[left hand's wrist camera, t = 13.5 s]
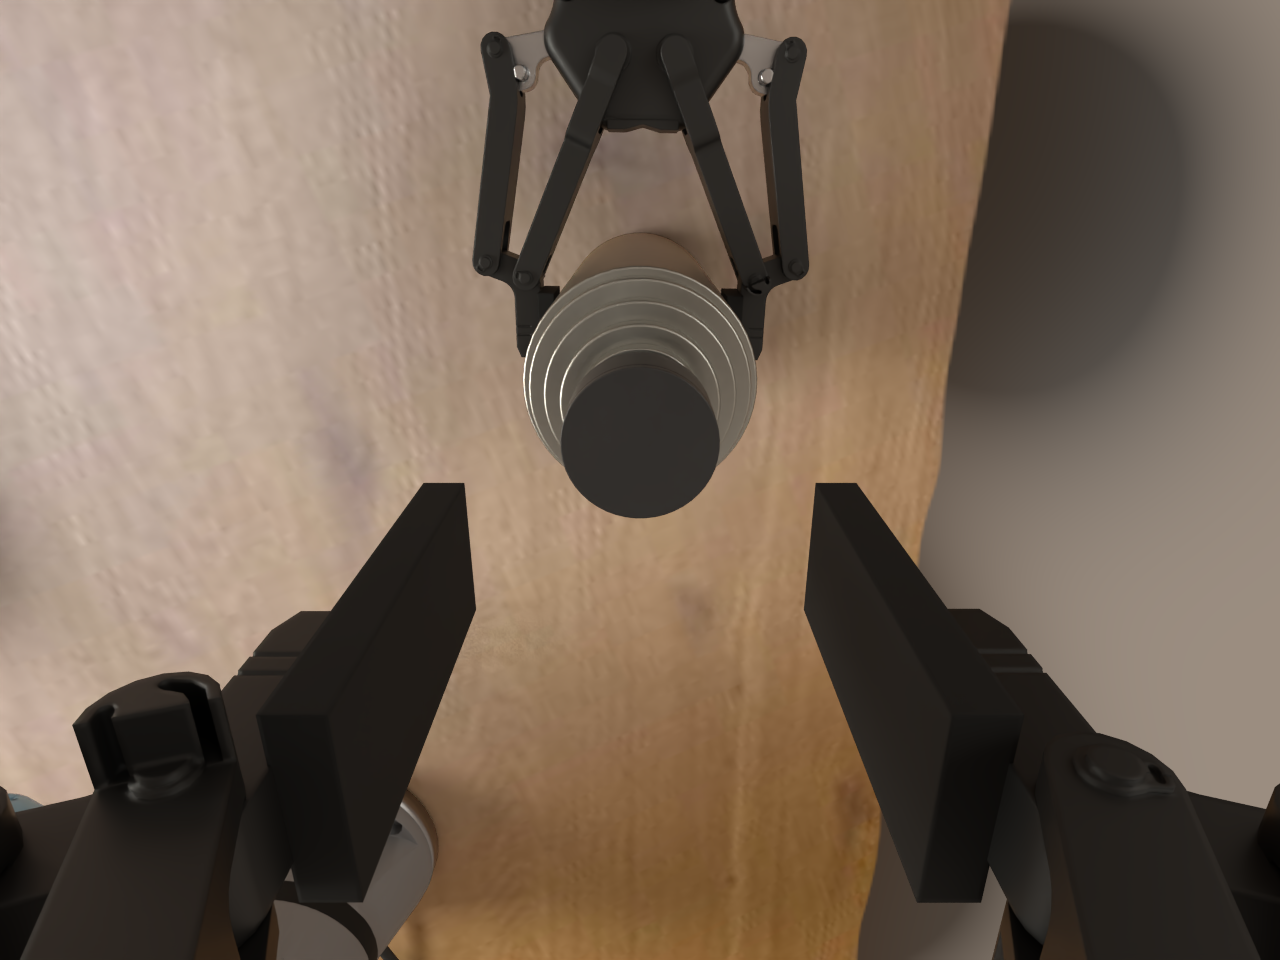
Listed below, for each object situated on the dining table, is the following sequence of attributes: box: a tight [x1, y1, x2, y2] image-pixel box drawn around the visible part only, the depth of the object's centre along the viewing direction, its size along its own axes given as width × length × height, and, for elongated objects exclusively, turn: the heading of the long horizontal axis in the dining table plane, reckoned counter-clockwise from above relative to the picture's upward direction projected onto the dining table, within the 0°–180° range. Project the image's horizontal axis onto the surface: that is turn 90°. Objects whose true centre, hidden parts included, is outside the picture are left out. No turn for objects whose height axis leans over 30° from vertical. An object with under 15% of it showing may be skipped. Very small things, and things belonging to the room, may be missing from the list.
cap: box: [560, 352, 720, 518], centre depth 21 cm, size 4×4×2 cm
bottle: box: [523, 233, 757, 466], centre depth 31 cm, size 8×8×24 cm
